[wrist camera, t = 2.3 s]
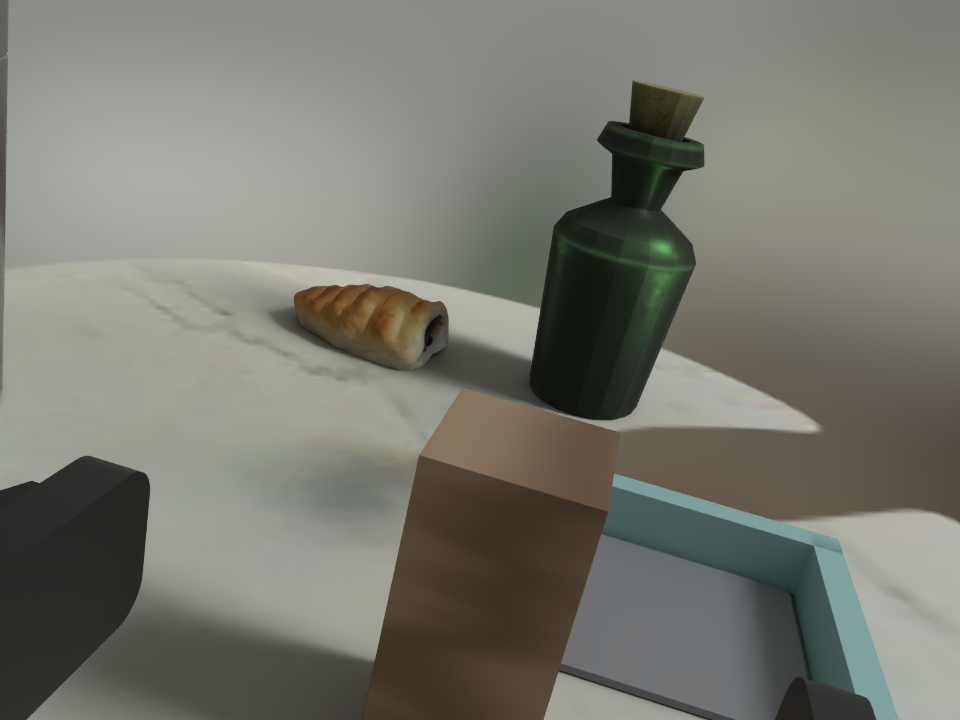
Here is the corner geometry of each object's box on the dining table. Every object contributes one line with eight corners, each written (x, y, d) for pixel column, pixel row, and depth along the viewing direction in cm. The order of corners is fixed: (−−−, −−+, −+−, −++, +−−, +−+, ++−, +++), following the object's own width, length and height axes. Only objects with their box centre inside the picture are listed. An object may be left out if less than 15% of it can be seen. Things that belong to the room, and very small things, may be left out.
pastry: (268, 332, 52) (276, 271, 50) (322, 306, 58) (331, 251, 57) (412, 381, 50) (425, 319, 48) (453, 349, 56) (465, 293, 54)
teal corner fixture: (396, 781, 24) (413, 711, 23) (507, 494, 40) (520, 445, 39) (916, 962, 22) (956, 894, 21) (817, 587, 38) (838, 539, 37)
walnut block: (350, 773, 24) (419, 455, 20) (398, 667, 28) (463, 387, 24) (508, 829, 23) (608, 511, 20) (534, 712, 28) (620, 432, 24)
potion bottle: (527, 356, 57) (600, 70, 50) (650, 391, 56) (741, 103, 49) (502, 401, 49) (584, 71, 43) (644, 443, 48) (750, 111, 42)
